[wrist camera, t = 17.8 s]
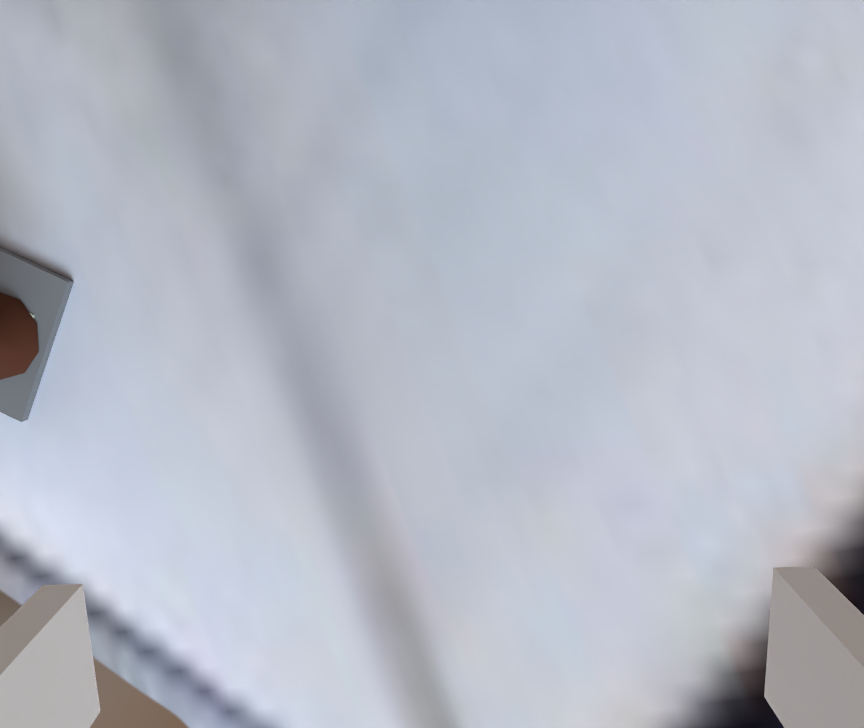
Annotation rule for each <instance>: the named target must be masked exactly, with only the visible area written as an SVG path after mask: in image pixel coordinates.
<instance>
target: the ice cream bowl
mask: <svg viewBox="0 0 864 728" xmlns="http://www.w3.org/2000/svg"><path fill="white" fill-rule="evenodd" d="M38 352H39V346H38V330H37V323H36V321H35V320H34V319H33V317H32V316H31V314H30V313H29V312H28V310H27V309H26V307H25V306H24V305H23V303H22V302H21V301H20V300H19V299H16V298H14V297H11V296H8V295H6V294H3V293H1V292H0V380H2V379H5V378H9V377H12V376H16V375H19V374H23V373H25V372H26V370H27V369H28V367H29V366H30V364H31V363H32V361H33V360H34V358H35V357H36V355H37V354H38Z"/></svg>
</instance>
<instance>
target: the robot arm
mask: <svg viewBox="0 0 864 728" xmlns="http://www.w3.org/2000/svg"><path fill="white" fill-rule="evenodd" d="M764 697H765V698H766V700H767V702H768V703H769V705H770V706H771V708H772V709H773V711H774V712H775V714H776V715H777V717H778V718H779V720H780V721H781V723H782V725H783V726H784V728H864V615H863V614H862V613H861V612H860V611H859V610H858V609H857V608H856V607H855V606H854V605H853V604H852V603H851V602H850V601H849V600H848V599H847V598H846V597H845V596H844V595H843V594H841V593H840V592H839V591H838V590H837V589H836V588H835V587H834V586H833V585H832V584H831V583H830V582H829V581H828V580H827V579H826V578H825V577H824V576H823V575H822V574H821V573H820V572H819V571H818V570H817V569H816V568H815V567H780V568H773V582H772V596H771V610H770V624H769V638H768V652H767V666H766V680H765V694H764ZM99 712H100V706H99V698H98V691H97V684H96V676H95V669H94V662H93V655H92V648H91V640H90V633H89V626H88V619H87V611H86V604H85V597H84V590H83V584H71V585H43V586H42V587H41V588H40V589H39V590H38V591H36V592H35V593H34V594H33V595H32V596H31V597H30V598H29V599H28V600H27V601H26V602H25V603H24V604H23V605H22V606H21V607H20V608H19V609H18V610H17V611H16V613H14V614H13V615H12V616H11V617H10V618H9V619H8V620H7V621H6V622H5V624H3V625H2V626H1V627H0V728H90V726H91V725H92V723H93V722H94V720H95V719H96V717H97V715H98V714H99Z"/></svg>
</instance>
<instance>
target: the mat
mask: <svg viewBox="0 0 864 728" xmlns="http://www.w3.org/2000/svg"><path fill="white" fill-rule="evenodd" d="M73 282H74V281H72V280H70V279H67V278H65V277H63V276H61V275H59V274H57V273H55V272H52V271H50V270H48V269H46V268H44V267H42V266H40V265H37V264H35V263H33V262H31V261H29V260H27V259H25V258H22V257H20V256H18V255H16V254H14V253H12V252H10V251H7V250H5V249H3V248H1V247H0V292H1V293H3V294H6V295H8V296H11V297H14V298H16V299H19V300H20V301H21V302H22V303H23V305H24V306H25V307H26V309H27V310H28V312H29V313H30V314H31V316H32V317H33V319H34V320H35V321H36V323H37V330H38V346H39V352H38V354H37V355H36V357H35V358H34V360H33V361H32V363H31V364H30V366H29V367H28V369H27V370H26V372H25V373H23V374H19V375H16V376H12V377H9V378H5V379H2V380H0V412H2V413H4V414H6V415H8V416H10V417H12V418H14V419H16V420H19V421H21V422H22V421H25V420H27V419H28V416H29V413H30V410H31V407H32V404H33V401H34V398H35V395H36V392H37V389H38V386H39V383H40V380H41V377H42V374H43V371H44V368H45V365H46V362H47V359H48V356H49V353H50V350H51V348H52V345H53V342H54V339H55V336H56V333H57V330H58V327H59V324H60V321H61V318H62V315H63V312H64V309H65V306H66V303H67V300H68V297H69V294H70V291H71V288H72V285H73Z"/></svg>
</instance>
